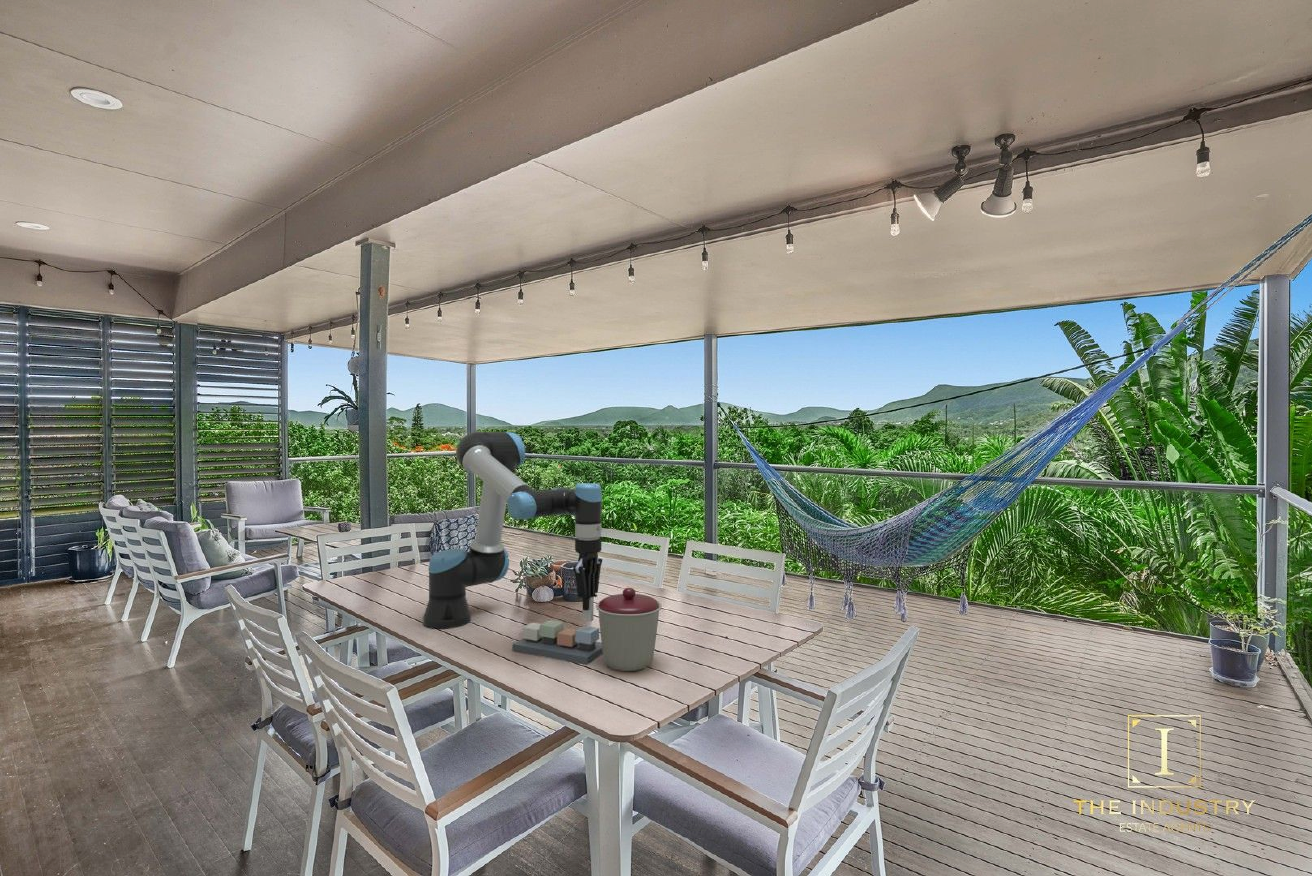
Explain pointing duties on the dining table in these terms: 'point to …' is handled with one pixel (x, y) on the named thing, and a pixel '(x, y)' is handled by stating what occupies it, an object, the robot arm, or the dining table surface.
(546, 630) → the key sage
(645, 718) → the dining table surface
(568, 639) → the key terracotta
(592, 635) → the key blue
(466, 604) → the robot arm
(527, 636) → the key ivory
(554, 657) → the keypad board
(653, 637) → the canister
